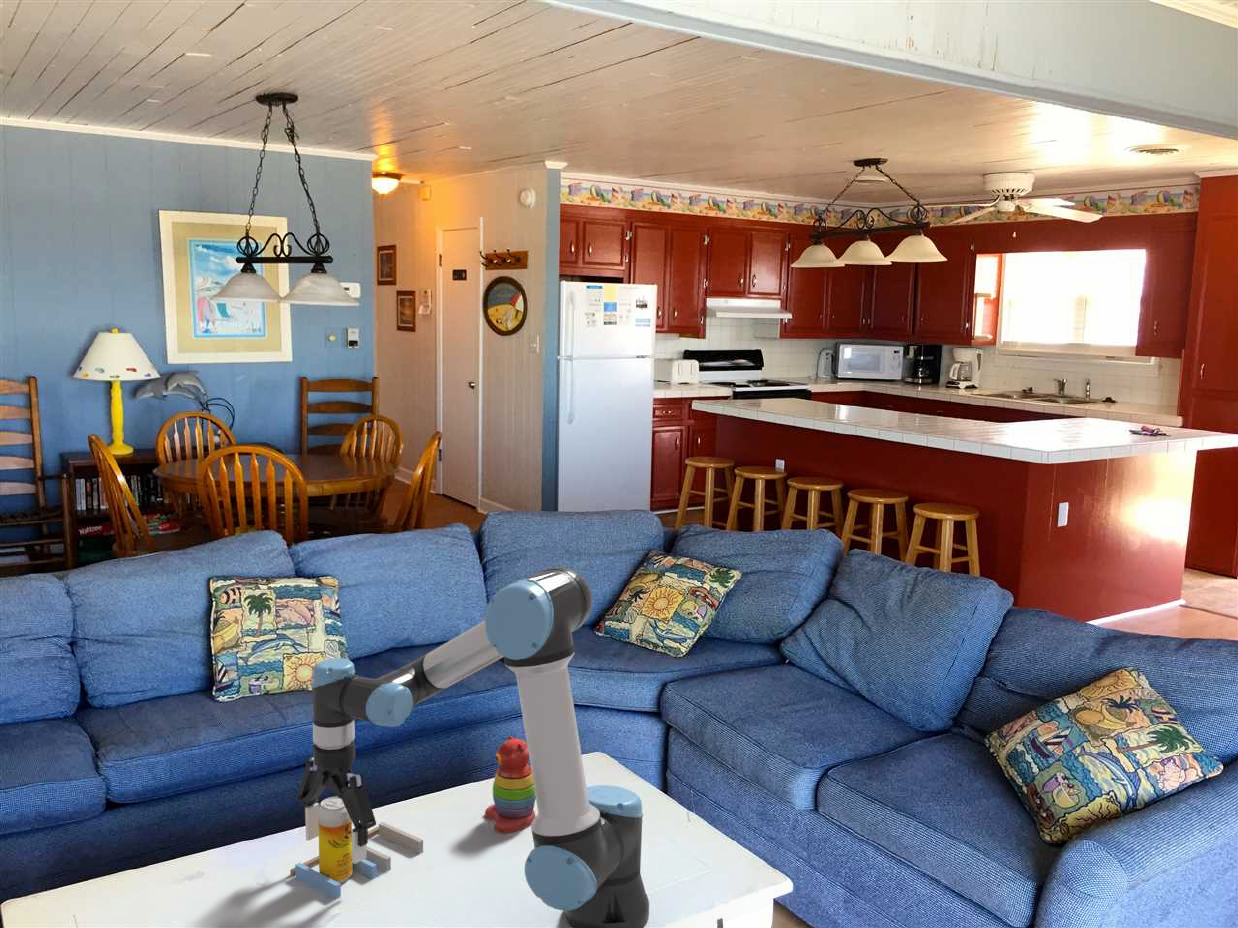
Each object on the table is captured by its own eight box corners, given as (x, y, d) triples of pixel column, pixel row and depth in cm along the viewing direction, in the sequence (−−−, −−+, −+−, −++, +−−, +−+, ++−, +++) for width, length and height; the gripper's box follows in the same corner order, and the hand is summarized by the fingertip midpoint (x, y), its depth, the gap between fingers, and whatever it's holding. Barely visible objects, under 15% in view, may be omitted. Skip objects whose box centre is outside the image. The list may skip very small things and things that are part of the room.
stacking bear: (482, 812, 219) (483, 734, 217) (526, 804, 224) (527, 727, 221) (498, 835, 210) (498, 753, 207) (543, 826, 214) (544, 746, 212)
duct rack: (423, 851, 202) (423, 839, 202) (336, 898, 185) (336, 885, 185) (377, 830, 210) (377, 819, 210) (290, 874, 193) (290, 862, 192)
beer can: (343, 887, 189) (342, 811, 187) (313, 883, 190) (312, 808, 188) (358, 870, 195) (357, 797, 193) (328, 866, 196) (327, 793, 194)
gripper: (395, 752, 185) (395, 861, 187) (308, 719, 199) (310, 821, 202) (362, 766, 179) (363, 878, 181) (276, 731, 193) (278, 835, 196)
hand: (335, 848), depth 192 cm, fingers open, 13 cm apart
